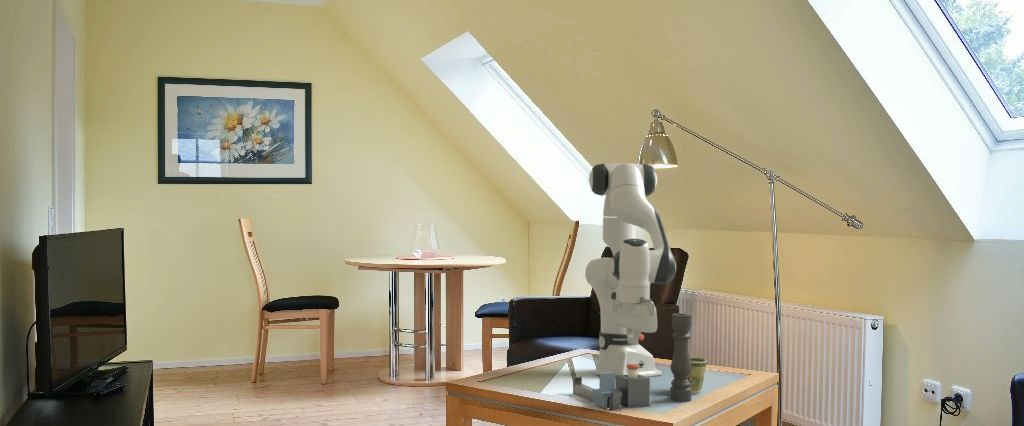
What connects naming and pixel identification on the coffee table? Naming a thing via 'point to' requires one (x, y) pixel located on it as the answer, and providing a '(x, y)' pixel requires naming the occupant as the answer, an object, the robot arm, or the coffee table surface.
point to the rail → (588, 394)
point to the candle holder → (681, 358)
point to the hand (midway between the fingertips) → (633, 344)
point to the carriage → (605, 388)
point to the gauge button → (632, 370)
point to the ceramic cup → (697, 374)
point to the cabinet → (633, 390)
